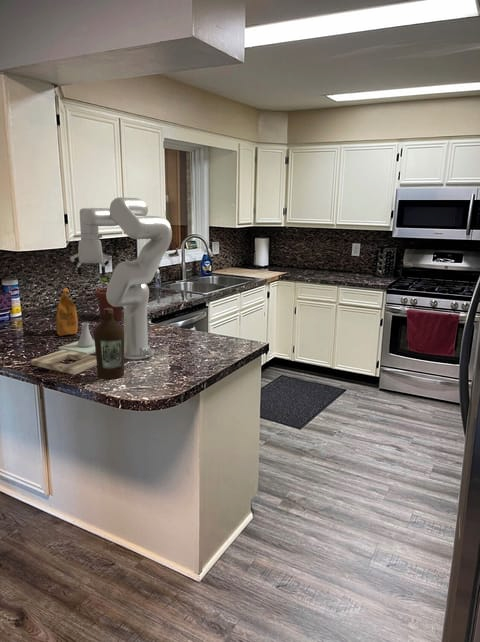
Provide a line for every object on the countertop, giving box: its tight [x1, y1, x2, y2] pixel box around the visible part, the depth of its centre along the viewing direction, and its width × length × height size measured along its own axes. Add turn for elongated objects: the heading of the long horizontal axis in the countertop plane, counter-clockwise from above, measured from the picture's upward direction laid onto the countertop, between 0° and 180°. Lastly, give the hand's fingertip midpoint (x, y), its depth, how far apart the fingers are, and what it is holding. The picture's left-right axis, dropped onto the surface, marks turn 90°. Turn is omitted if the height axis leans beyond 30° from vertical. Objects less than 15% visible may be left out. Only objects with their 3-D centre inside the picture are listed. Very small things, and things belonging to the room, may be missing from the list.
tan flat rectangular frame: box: [31, 350, 97, 375], centre depth 181 cm, size 22×16×2 cm
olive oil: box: [93, 308, 125, 380], centre depth 167 cm, size 11×11×25 cm
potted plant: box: [94, 274, 127, 323], centre depth 252 cm, size 18×22×25 cm
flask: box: [77, 322, 95, 347], centre depth 201 cm, size 7×7×10 cm
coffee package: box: [55, 287, 79, 337], centre depth 223 cm, size 10×12×22 cm
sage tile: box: [57, 339, 96, 355], centre depth 203 cm, size 16×16×1 cm
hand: (91, 275), depth 206 cm, fingers open, 9 cm apart
